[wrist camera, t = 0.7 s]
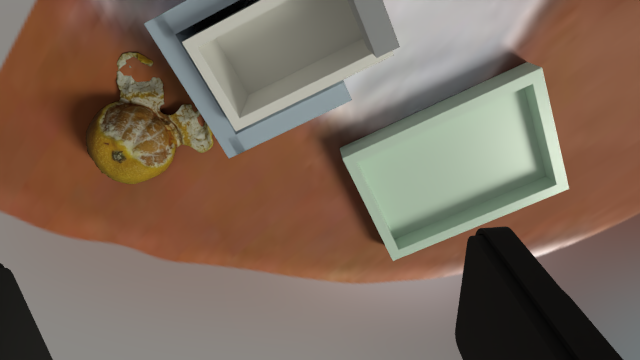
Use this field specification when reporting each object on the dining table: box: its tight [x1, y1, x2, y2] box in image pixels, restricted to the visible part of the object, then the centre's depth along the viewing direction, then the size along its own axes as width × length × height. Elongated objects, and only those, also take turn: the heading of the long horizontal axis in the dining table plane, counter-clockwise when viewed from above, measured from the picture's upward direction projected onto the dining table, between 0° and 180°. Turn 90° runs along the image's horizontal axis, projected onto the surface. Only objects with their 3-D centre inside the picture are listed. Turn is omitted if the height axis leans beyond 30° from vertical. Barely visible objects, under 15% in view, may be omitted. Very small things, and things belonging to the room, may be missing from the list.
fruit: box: [86, 52, 214, 184], centre depth 29 cm, size 8×8×4 cm
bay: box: [144, 0, 352, 158], centre depth 26 cm, size 9×9×4 cm
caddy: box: [182, 0, 400, 131], centre depth 24 cm, size 10×6×9 cm, turn 115°
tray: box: [340, 62, 569, 261], centre depth 32 cm, size 15×10×2 cm
